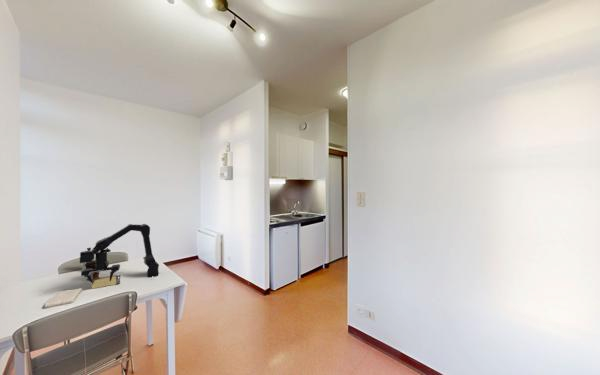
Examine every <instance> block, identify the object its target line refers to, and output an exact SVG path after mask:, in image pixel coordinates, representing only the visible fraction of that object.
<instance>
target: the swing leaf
mask: <svg viewBox="0 0 600 375" xmlns="http://www.w3.org/2000/svg"><path fill="white" fill-rule="evenodd" d="M116 275H117V276H116V277H112V279H111V281H110V278H104V279H98V280H93V284H92V283H91V289H97V288H102V287H108V286H113V285H114V286H115V285H120V284H121V274H116Z"/></svg>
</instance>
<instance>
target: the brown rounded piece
mask: <svg viewBox="0 0 600 375" xmlns="http://www.w3.org/2000/svg"><path fill="white" fill-rule="evenodd" d="M95 262H96V259H95V260H94V261H90V262H86V264H85V266H86V269H89V268H92V270H93V269H96V266H95ZM99 277H100V272H93V280H94V278H99ZM86 278H87V277H86ZM86 280H87V281H90V280H89V279H88V278H87V279H86Z"/></svg>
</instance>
